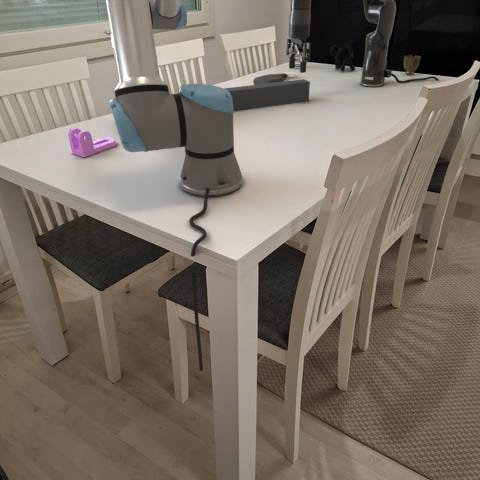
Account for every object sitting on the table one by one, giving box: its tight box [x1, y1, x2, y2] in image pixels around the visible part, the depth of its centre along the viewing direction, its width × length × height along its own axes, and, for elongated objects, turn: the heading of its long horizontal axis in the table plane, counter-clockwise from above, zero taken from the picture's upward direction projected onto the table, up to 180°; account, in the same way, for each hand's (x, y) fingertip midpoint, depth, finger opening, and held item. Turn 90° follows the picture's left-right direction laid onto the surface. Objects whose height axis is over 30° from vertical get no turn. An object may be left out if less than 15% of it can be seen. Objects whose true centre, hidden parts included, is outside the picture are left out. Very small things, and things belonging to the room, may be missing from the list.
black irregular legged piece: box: [330, 43, 356, 72], centre depth 219 cm, size 11×10×15 cm
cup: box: [403, 54, 422, 76], centre depth 208 cm, size 8×7×8 cm
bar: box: [223, 78, 311, 112], centre depth 162 cm, size 72×5×7 cm, turn 112°
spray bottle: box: [252, 71, 300, 85], centre depth 201 cm, size 3×11×24 cm
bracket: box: [67, 127, 117, 158], centre depth 130 cm, size 13×6×7 cm, turn 143°
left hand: (135, 120), depth 154 cm, fingers closed on bar, 5 cm apart
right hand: (297, 70), depth 168 cm, fingers open, 8 cm apart
